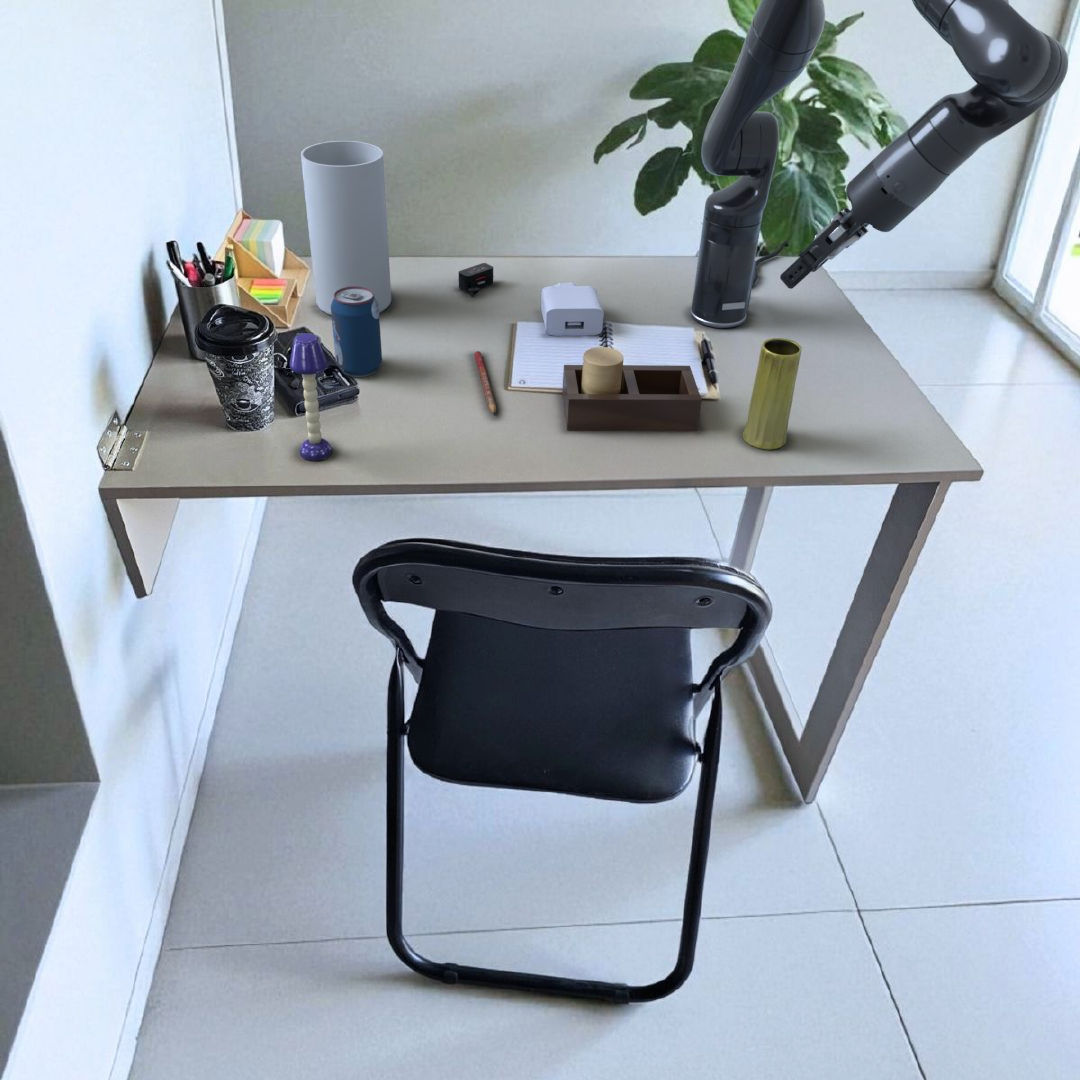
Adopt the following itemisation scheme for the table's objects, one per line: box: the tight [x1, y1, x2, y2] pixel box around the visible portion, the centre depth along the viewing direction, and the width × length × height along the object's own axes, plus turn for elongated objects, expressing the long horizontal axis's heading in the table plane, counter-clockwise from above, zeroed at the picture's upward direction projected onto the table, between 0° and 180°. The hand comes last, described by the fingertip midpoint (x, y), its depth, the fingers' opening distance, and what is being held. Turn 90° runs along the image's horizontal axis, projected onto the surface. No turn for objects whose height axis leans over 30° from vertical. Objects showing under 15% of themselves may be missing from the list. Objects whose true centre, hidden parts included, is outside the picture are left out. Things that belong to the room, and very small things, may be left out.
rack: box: [561, 364, 703, 432], centre depth 149 cm, size 10×18×5 cm, turn 93°
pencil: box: [474, 350, 497, 417], centre depth 155 cm, size 19×1×1 cm, turn 10°
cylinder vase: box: [300, 140, 392, 316], centre depth 168 cm, size 12×12×25 cm
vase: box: [742, 337, 803, 451], centre depth 142 cm, size 6×6×14 cm
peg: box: [581, 346, 625, 394], centre depth 148 cm, size 6×6×9 cm
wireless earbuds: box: [458, 262, 494, 297], centre depth 181 cm, size 5×7×3 cm, turn 134°
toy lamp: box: [289, 333, 333, 462], centre depth 135 cm, size 5×5×17 cm
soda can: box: [330, 286, 383, 378], centre depth 155 cm, size 7×7×12 cm
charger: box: [540, 282, 605, 337], centre depth 174 cm, size 5×9×15 cm
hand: (797, 274), depth 131 cm, fingers open, 8 cm apart
